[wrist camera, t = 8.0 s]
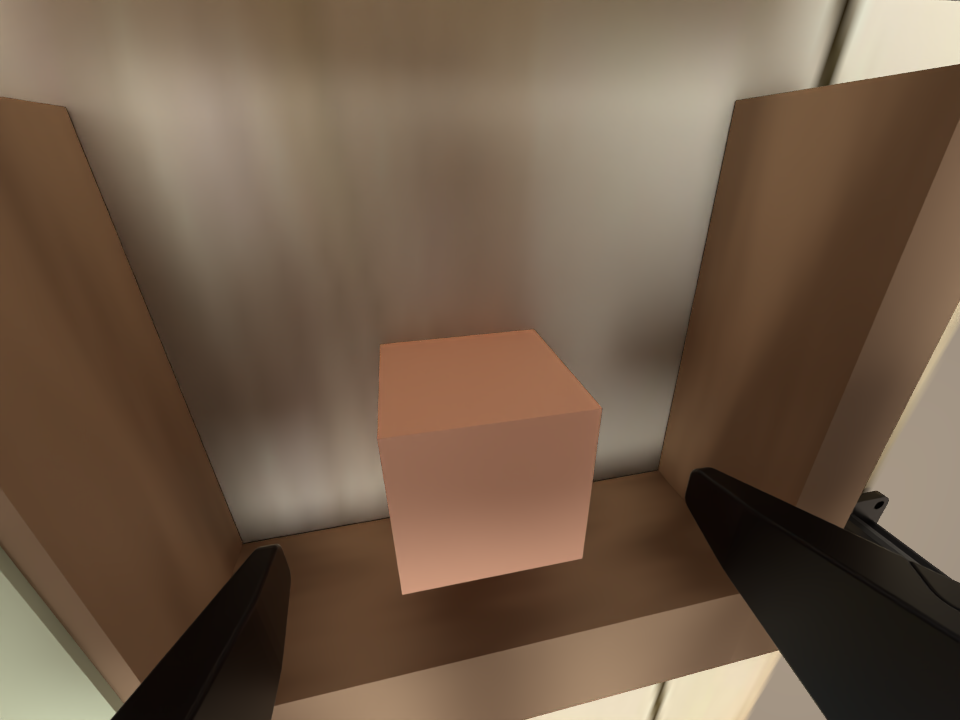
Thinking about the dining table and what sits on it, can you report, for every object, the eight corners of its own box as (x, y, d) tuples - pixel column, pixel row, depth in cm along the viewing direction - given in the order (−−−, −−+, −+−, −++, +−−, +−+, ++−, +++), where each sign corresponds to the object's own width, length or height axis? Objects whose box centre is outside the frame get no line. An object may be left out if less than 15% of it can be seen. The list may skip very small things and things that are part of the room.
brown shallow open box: (801, 99, 11) (1100, 58, 6) (685, 529, 18) (787, 655, 14) (-417, 111, 7) (-2006, 20, 2) (51, 660, 14) (-110, 904, 9)
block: (533, 328, 12) (602, 408, 8) (528, 448, 14) (582, 558, 10) (380, 343, 12) (377, 439, 8) (397, 467, 14) (402, 594, 10)
